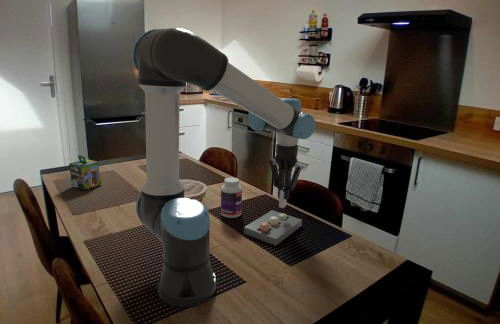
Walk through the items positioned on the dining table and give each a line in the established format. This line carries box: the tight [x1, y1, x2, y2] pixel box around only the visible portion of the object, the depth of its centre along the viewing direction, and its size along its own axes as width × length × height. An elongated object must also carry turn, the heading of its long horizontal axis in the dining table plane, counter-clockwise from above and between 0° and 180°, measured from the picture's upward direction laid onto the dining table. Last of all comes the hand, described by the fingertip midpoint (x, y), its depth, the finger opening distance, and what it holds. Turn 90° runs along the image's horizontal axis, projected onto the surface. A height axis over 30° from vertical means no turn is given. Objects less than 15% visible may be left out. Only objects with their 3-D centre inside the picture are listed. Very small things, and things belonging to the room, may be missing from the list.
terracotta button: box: [260, 222, 270, 233], centre depth 119 cm, size 3×3×3 cm
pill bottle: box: [220, 177, 243, 219], centre depth 133 cm, size 8×8×14 cm
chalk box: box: [68, 154, 102, 191], centre depth 157 cm, size 9×9×15 cm
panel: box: [243, 209, 303, 246], centre depth 124 cm, size 18×13×2 cm
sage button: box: [278, 212, 288, 221], centre depth 128 cm, size 3×3×3 cm
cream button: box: [269, 216, 279, 227], centre depth 123 cm, size 3×3×3 cm
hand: (282, 206), depth 127 cm, fingers closed
